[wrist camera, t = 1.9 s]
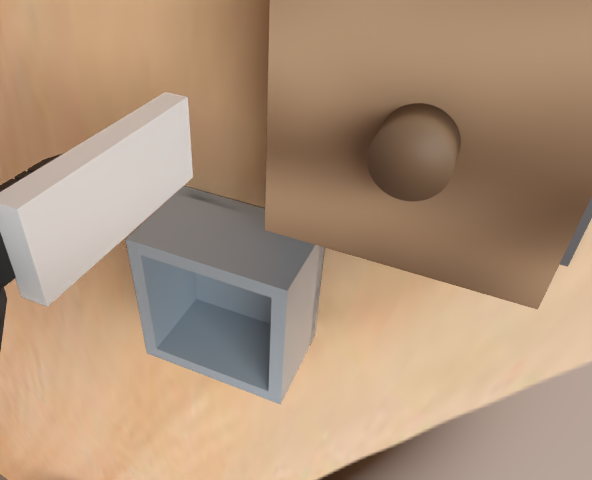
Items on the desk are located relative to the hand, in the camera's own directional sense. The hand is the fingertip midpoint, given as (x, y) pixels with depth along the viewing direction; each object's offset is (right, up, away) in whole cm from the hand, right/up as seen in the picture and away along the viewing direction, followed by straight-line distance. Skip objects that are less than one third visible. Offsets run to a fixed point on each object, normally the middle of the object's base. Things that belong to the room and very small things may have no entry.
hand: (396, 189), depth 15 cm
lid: (+3, +4, +5) cm, 7 cm away
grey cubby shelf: (-5, -3, +15) cm, 16 cm away
